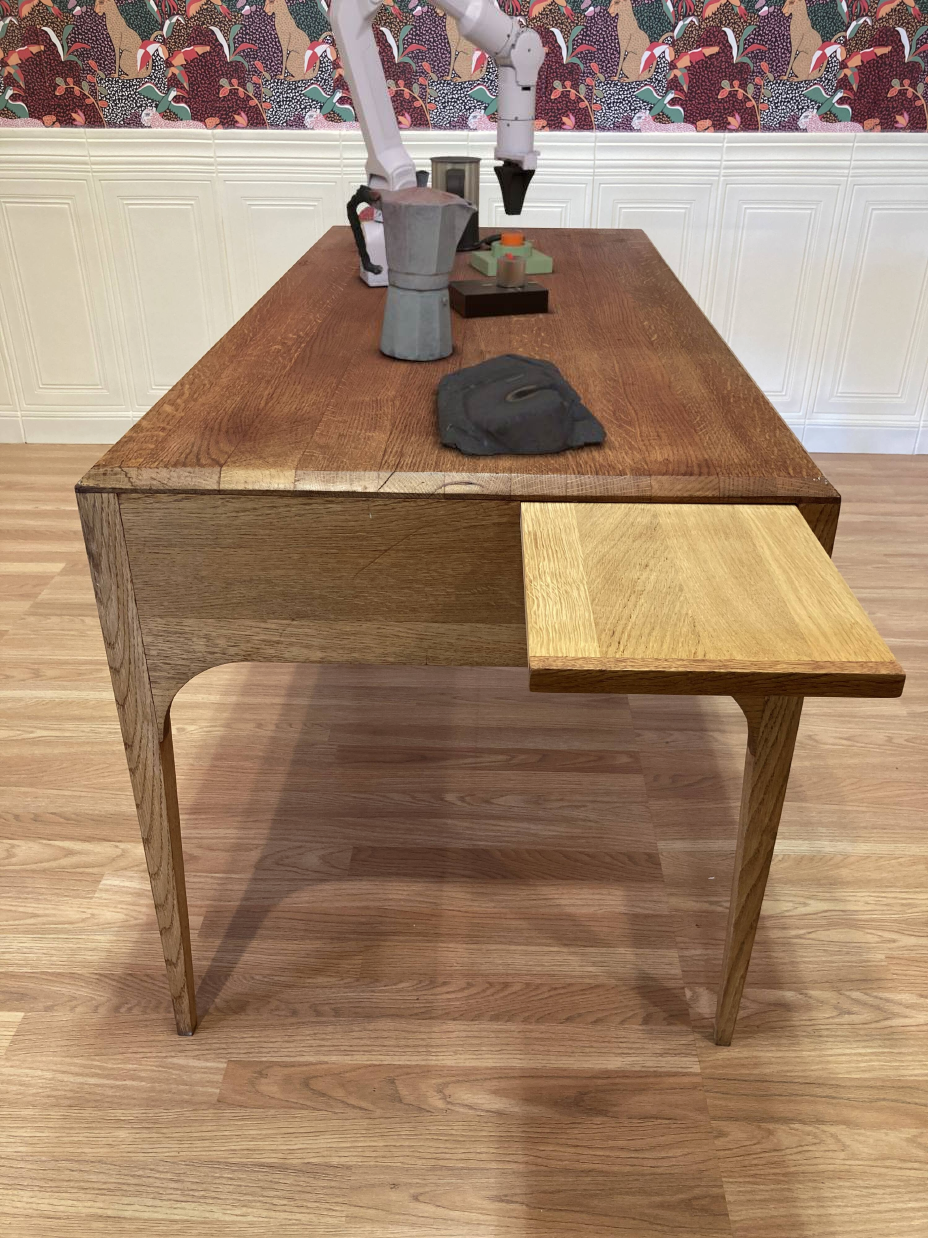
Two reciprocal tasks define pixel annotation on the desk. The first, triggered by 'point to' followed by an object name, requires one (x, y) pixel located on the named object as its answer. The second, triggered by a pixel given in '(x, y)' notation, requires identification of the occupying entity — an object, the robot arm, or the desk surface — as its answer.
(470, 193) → the milk frother
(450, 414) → the slotted grey rock
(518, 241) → the button
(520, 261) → the temp dial
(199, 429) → the desk surface
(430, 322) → the moka pot
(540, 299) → the panel
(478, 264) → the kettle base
